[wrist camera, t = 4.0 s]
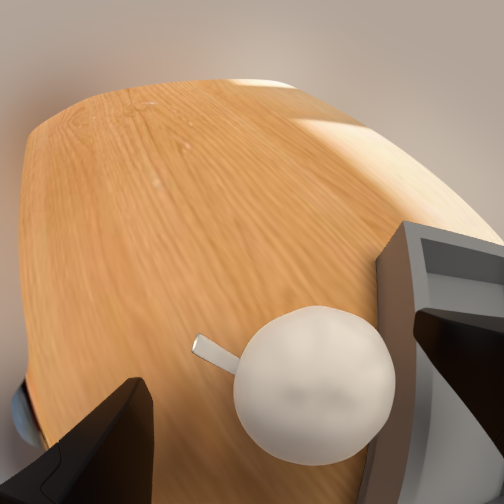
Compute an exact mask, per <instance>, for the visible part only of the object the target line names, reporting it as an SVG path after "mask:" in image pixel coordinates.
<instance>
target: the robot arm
mask: <svg viewBox="0 0 504 504" xmlns="http://www.w3.org/2000/svg"><path fill="white" fill-rule="evenodd" d="M413 336H414V338H415V340H416V341H417V342H418V344H419V345H420V347H421V348H422V350H423V351H424V352H425V354H426V355H427V357H428V358H429V360H430V361H431V363H432V364H433V366H434V367H435V368H436V369H437V371H438V372H439V373H440V374H441V376H442V377H443V378H444V379H445V380H446V382H447V383H448V384H449V385H450V387H451V388H452V389H453V390H454V392H455V393H456V394H457V395H458V397H459V398H460V399H461V400H462V402H463V403H464V404H465V405H466V407H467V408H468V409H469V411H470V412H471V413H472V415H473V416H474V417H475V419H476V420H477V421H478V423H479V424H480V425H481V427H482V428H483V429H484V431H485V432H486V433H487V435H488V436H489V438H490V439H491V440H492V442H493V443H494V445H495V446H496V448H497V449H498V451H499V452H500V454H501V455H502V457H503V458H504V317H495V316H487V315H479V314H471V313H463V312H456V311H449V310H441V309H434V308H427V307H425V308H422V309H420V310H418V311H416V313H415V317H414V325H413ZM153 458H154V421H153V400H152V397H151V394H150V392H149V390H148V388H147V386H146V384H145V382H144V380H143V378H141V377H134V378H128V379H127V380H126V381H125V382H124V383H123V384H122V385H121V386H119V387H118V388H117V389H116V390H115V391H114V392H113V393H112V394H111V395H110V396H108V397H107V398H106V399H105V400H104V401H103V402H102V403H101V404H100V405H98V406H97V407H96V408H95V409H94V410H93V411H92V412H91V413H89V414H88V415H87V416H86V417H85V418H84V419H83V420H82V421H81V422H79V423H78V424H77V425H76V426H75V427H74V428H73V429H72V430H70V431H69V432H68V433H67V434H66V435H65V436H64V437H62V438H61V439H60V440H59V443H58V442H57V443H56V444H55V445H53V446H52V447H51V448H50V449H49V450H48V451H46V452H45V453H44V454H43V455H42V456H40V457H39V458H38V459H37V460H35V461H34V462H33V463H31V464H30V465H29V466H27V467H26V468H24V469H23V470H21V471H20V472H19V473H17V474H16V475H14V476H13V477H11V478H10V479H8V480H7V481H5V482H4V483H2V484H1V485H0V504H151V498H152V474H153Z"/></svg>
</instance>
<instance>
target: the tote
mask: <svg viewBox="0 0 504 504" xmlns="http://www.w3.org/2000/svg"><path fill="white" fill-rule="evenodd" d="M376 270H377V290H378V333H379V334H380V336H381V337H382V339H383V341H384V343H385V345H386V347H387V349H388V352H389V354H390V356H391V359H392V362H393V366H394V371H395V393H394V399H393V404H392V408H391V411H390V414H389V417H388V419H387V421H386V423H385V424H384V426H383V427H382V428H381V430H380V431H379V432H378V433H377V434H376V435H375V436H374V437H373V438H372V439H371V440H370V442H369V446H368V452H367V458H366V463H365V468H364V473H363V478H362V483H361V487H360V491H359V495H358V499H357V503H356V504H504V458H503V457H502V455H501V454H500V452H499V451H498V449H497V448H496V446H495V445H494V443H493V442H492V440H491V439H490V438H489V436H488V435H487V433H486V432H485V431H484V429H483V428H482V427H481V425H480V424H479V423H478V421H477V420H476V419H475V417H474V416H473V415H472V413H471V412H470V411H469V409H468V408H467V407H466V405H465V404H464V403H463V402H462V400H461V399H460V398H459V397H458V395H457V394H456V393H455V392H454V390H453V389H452V388H451V387H450V385H449V384H448V383H447V382H446V380H445V379H444V378H443V377H442V376H441V374H440V373H439V372H438V371H437V369H436V368H435V367H434V366H433V364H432V363H431V361H430V360H429V358H428V357H427V355H426V354H425V352H424V351H423V350H422V348H421V347H420V345H419V344H418V342H417V341H416V340H415V338H414V336H413V325H414V317H415V313H416V311H418V310H420V309H422V308H425V307H427V308H434V309H441V310H449V311H456V312H463V313H471V314H479V315H487V316H495V317H504V246H501V245H498V244H495V243H491V242H488V241H484V240H481V239H477V238H473V237H470V236H466V235H462V234H458V233H454V232H450V231H446V230H442V229H438V228H434V227H430V226H426V225H421V224H417V223H412V222H408V221H402V223H401V225H400V226H399V228H398V229H397V231H396V232H395V234H394V235H393V236H392V238H391V239H390V241H389V242H388V244H387V245H386V247H385V248H384V249H383V251H382V252H381V254H380V255H379V257H378V258H377V259H376Z"/></svg>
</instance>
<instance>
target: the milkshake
mask: <svg viewBox="0 0 504 504" xmlns="http://www.w3.org/2000/svg"><path fill="white" fill-rule="evenodd" d="M191 352H192V353H193V354H195V355H196V356H198V357H200V358H202V359H204V360H206V361H208V362H209V363H211V364H213V365H215V366H217V367H219V368H221V369H223V370H225V371H227V372H229V373H231V374H234V375H235V378H234V386H233V397H234V405H235V409H236V413H237V415H238V418H239V420H240V422H241V424H242V426H243V428H244V429H245V431H246V432H247V434H248V435H249V436H250V438H251V439H252V440H253V441H254V442H255V443H256V444H257V445H258V446H259V447H260V448H262V449H263V450H264V451H266V452H267V453H269V454H270V455H272V456H274V457H276V458H278V459H281V460H284V461H287V462H291V463H295V464H301V465H308V466H320V465H328V464H333V463H337V462H340V461H343V460H346V459H348V458H350V457H352V456H353V455H355V454H356V453H358V452H359V451H360V450H361V449H362V448H364V447H365V446H366V445H367V444H368V443H369V442H370V440H371V439H372V438H373V437H374V436H375V435H376V434H377V433H378V432H379V431H380V430H381V428H382V427H383V426H384V424H385V423H386V421H387V419H388V417H389V414H390V411H391V408H392V404H393V399H394V393H395V371H394V366H393V362H392V359H391V356H390V354H389V352H388V349H387V347H386V345H385V343H384V341H383V339H382V337H381V336H380V334H379V333H378V332H377V331H376V329H375V328H374V327H373V326H372V325H370V324H369V323H368V322H367V321H365V320H364V319H362V318H360V317H358V316H356V315H354V314H351V313H348V312H345V311H342V310H338V309H334V308H330V307H325V306H309V307H304V308H301V309H298V310H295V311H292V312H290V313H287V314H285V315H282V316H280V317H278V318H276V319H274V320H272V321H270V322H269V323H267V324H266V325H264V326H263V327H262V328H261V329H260V330H259V331H258V332H257V333H256V334H255V335H254V336H253V337H252V339H251V340H250V341H249V343H248V344H247V346H246V348H245V349H244V351H243V353H242V355H241V357H240V358H238V357H237V356H235V355H233V354H232V353H230V352H229V351H227V350H226V349H224V348H223V347H221V346H219V345H218V344H216V343H215V342H213V341H212V340H210V339H209V338H207V337H206V336H204V335H203V334H201V333H197V335H196V338H195V340H194V343H193V346H192V349H191Z"/></svg>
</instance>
